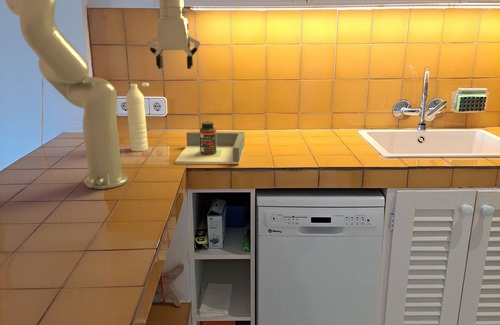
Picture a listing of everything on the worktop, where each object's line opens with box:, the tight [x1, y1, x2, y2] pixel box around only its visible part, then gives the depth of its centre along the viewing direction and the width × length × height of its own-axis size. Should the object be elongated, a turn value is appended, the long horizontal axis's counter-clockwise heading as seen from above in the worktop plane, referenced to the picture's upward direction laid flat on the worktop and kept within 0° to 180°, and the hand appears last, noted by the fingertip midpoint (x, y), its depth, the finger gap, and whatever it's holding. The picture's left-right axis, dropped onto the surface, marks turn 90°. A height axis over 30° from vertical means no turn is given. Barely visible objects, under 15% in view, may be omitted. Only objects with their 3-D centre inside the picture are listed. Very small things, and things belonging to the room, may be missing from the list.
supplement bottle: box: [199, 121, 217, 155], centre depth 161 cm, size 6×6×11 cm
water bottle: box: [125, 82, 150, 153], centre depth 169 cm, size 9×6×25 cm
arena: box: [174, 131, 245, 165], centre depth 164 cm, size 22×22×6 cm
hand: (174, 68), depth 148 cm, fingers open, 9 cm apart
